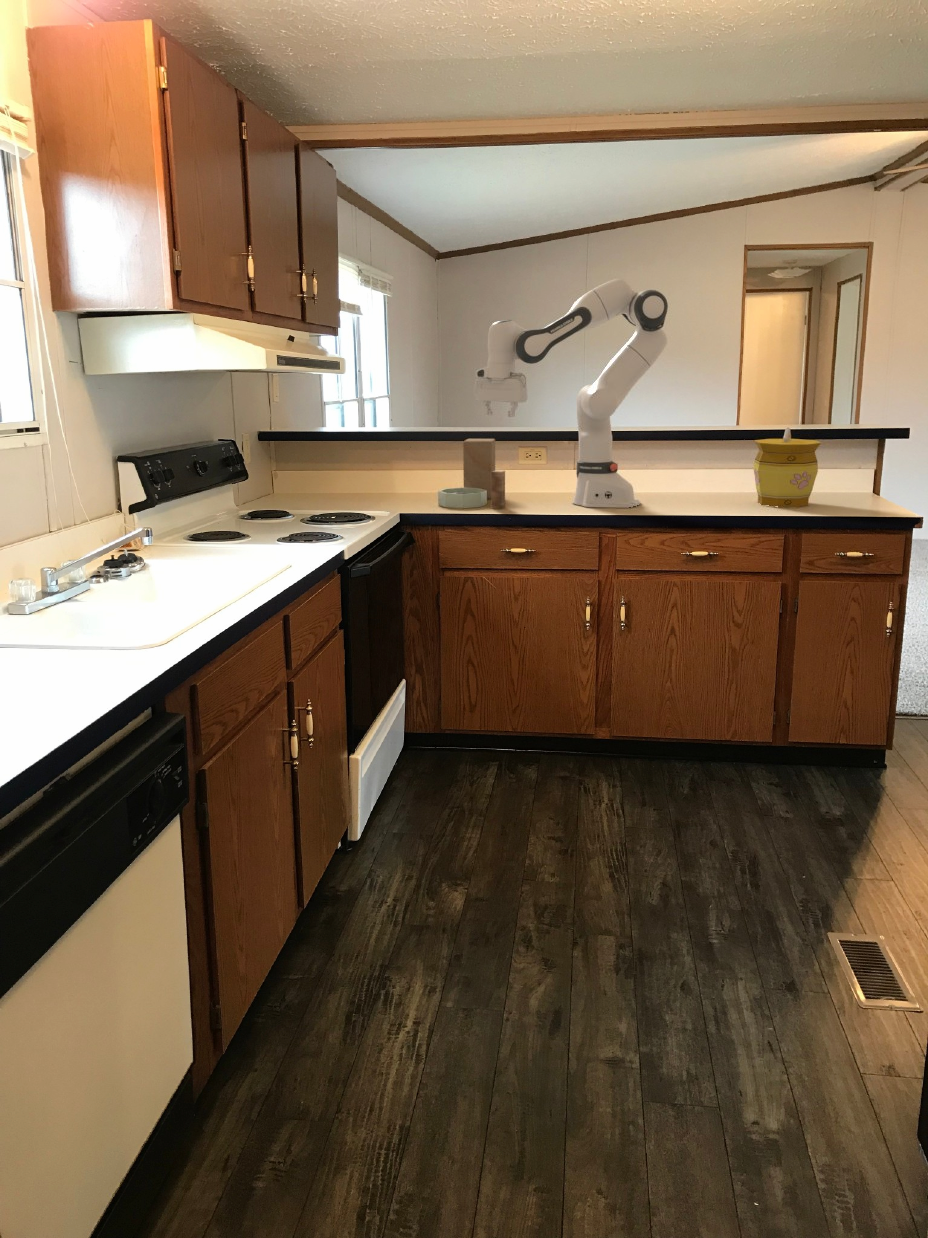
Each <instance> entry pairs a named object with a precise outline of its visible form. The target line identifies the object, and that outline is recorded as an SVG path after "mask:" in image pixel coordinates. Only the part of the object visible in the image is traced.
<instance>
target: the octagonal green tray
mask: <svg viewBox="0 0 928 1238" xmlns="http://www.w3.org/2000/svg"><path fill="white" fill-rule="evenodd" d="M455 492H470V493H468V494H455ZM487 501H488V499H487V490H484V489H480V488H464V487H462V486H461V487H450V488H448V487H447V488H442V489H440V490H438V491H437V502H438V503H437V505H438V506H440V507H444V508H452V509H453V508H454V509H455V508H456V509H469V508H480V507H483V506H486V505H487V504H488V502H487Z"/></svg>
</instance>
